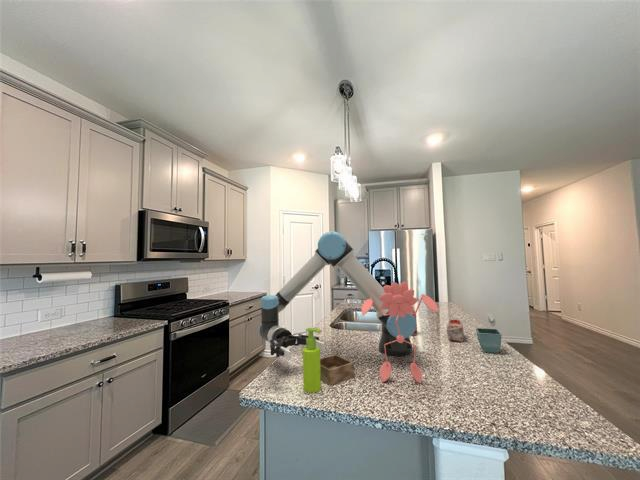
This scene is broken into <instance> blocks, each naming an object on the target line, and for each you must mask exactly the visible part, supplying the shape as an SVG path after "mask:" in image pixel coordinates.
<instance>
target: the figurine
mask: <svg viewBox="0 0 640 480" xmlns="http://www.w3.org/2000/svg"><path fill="white" fill-rule="evenodd" d="M382 287H383V289H384V291H385V294H383V295H381V296H380V300H381V301H383V302H382V305H381V308H382V309H388V312H389V313H388V314H383V312H382V311H381V310H380V309H379V307H378V306H377V305H376V304H375V302H374V301H373V300H372V298H370V299H368V300H366V299H365V301H364V303H363V304H362V307H361V308H360V309H361V315H362V316H365V315H366V314H367V313H369V312H370V311H371V309H372V308H373V306H372V305H373V304H374V305H375V306H376V307H377V308H378V310H379V311H380V312H381V313H382V315H384V316H387V315H390V316H391V317H394V316H395V315H396V313H397V314H398V315H397V318H396V326H397V329H398V332H399V335H398V336H397V338H396V339H397V340H395V341H397V342H399V343H403V342H404V341H405V340H404V337H403V336H402V335H401V334H400V331H399V327H398V324H397V320H398V317H399V316H400V317H403V318H404V317H405V315H406V314H415V313H416V314H417V312H418V310H419V308H420V305H421V304H422V302H423V303H424V304H425V306H426V307H427V308H428V309H430V310H431V311H434V312H435V313H439V309H438V305H437V303H436V302H435V300H434V299H433V298H432V297H430V296H429V295H426V294H424V293H422V294H421V296H420V299H419V301H418V299H417V297H414V295H415V289H413V288H410V289H409V286H408V284H407V282H406V281H403V282H402V283H400V284H399V283H397V282H392V283H391V285H388V284H386V285H384V286H382ZM417 303H418V304H417ZM415 304H417V307H416V309H415V308H414V307H413V306H414V305H415ZM414 310H415V313H412V312H414ZM395 341H392V342H395ZM392 342H389V343H392ZM405 342H407V341H405ZM389 343H386V344H384V348H385V345H387V344H389ZM407 343H409V344H412V346H414V347H413V348H414V349H413V350H414V351H413V362H412V363H410V365H409V367H410V375H411V376H412V377H411V378H413V379H414V380H416V382H418V384H422V377H423V376H422V371H421V369H420V367H419V366H418V364H417V363H416V345H415V344H414V343H412V342H411V343H410V342H407ZM384 355H385V361H384V362H383V363H382V365H381V366H380V370H379V371H380V372H379V375H380V376H379V377H380V379H381V381H382V383H384V382H386V381H387V380H388V379H389V378H390V377H391V375H392V364H391V363H390V361H388V358H387V354H386V348H385V354H384ZM371 374H372V373H370V374H369V376H370V375H371ZM432 392H434V390H432V391H430V392H428V393H425V394H421V395H418V397H421V396H424V397H425V396H427V395H429V394H431V393H432ZM389 394H391V395H395V396H397V394H395V393H390V392H389ZM398 396H400V397H403V395H400V394H398ZM413 397H414V395H413V396H412V395H409V398H413Z"/></svg>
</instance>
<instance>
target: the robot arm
mask: <svg viewBox="0 0 640 480" xmlns="http://www.w3.org/2000/svg"><path fill="white" fill-rule="evenodd" d="M354 252H355V249H354V248H353V247H352V246H351V245H350V244H349V243H348V242H347V240H346V239H345V237H344V236H343V235H342V234H341V233H340V232H337V231H333V230H332V231H331V230H330V231H327V232H325V233H323V234H322V235H321V236H320V237H319V239H318V242H317V248H316V250H315V251H314V255H313V256H312V257H311V258H309V260H308V261H307V262H306V263H305V264H304V265H303V266H302V267H301V268H300V269H299V270H298V271H297V272H296V273H295V274H294V275H293V276H292V277H291V278H290V279H289V280H288V282H286V284H284V286H283V287H282V288H281V289H280V290H279V291H278V292H277V293H276V294H275V295H264V296H263V295H262V297H261V299H260V300H261V301H260V311H261V312H260V313H261V315H260V316H261V323H260V324H259V327H258V330H257V333H258V335H259V337H260V338H261V339H263V341H267V342H268V343H269V349H270V356H274V355H275V357H277V358H280V357H284V358H285V359H286V360H288V361H291V360H292V356H291V355H292V353H291V351H290V350H289V349H287V348H289V347H293V346H295V347H296V346H297V347H298V346H300V345H301V346H306V338H308V335H307V334H302V333H298V335H294V334H292V332H291V331H290V330H288V329H286V328H284V327H282V326H280V325H279V324H280V323H279V321H280V319H279V317H280V315H279V313H281V312H282V311H284V309H286V307H287V306H288V305H289V304H290V302H291V301H292V300H293V299H294V298H295V297H297V296H298V294H300V292H301V291H302V290H304V288H305V287H306V286H308V284H309V283H311V281H313V279H314V278H315V277H316V276H317V275H318V274H319V273H320V272H321V271H322V270H323V269H324V268H325V267H326V266H330V265H331V267H333V268H336V269H339V270H340V271H341V273H342V274H343V275H344V276H345V277H346V278H347V280H349V282H350V283H351V284H352V286H354V287H355V288H356V289H357V291H358V292H359V293H360V294H361V295H362V296H363V298H364V299H365V301H366V300H368V299H370V298H372V300H373V301H374V302H375V304H376V305H377V306H378V307H379V309H380V310H381V311H382V312H383V314H388V313H389V312H388V309H382V308H381V305H382V302H383V301H381V300H380V296H381V295H383V294H385V291H384V289H383V287H384V286H382V285H381V284H380V282H378V281H377V279H376V278H375V277H374V276H373V275H372V274H371V272H370V271H368V269H367V268H366V267H365V265H363V264H362V263H361V261H360V260H359V259H358V258H357V257H356V256H355V254H354ZM372 308H373V309H374V310H375V311H376V315H375V316H376V318H377V319H378V321H380V323H381V334H380V339H379V343H378V350H379V352H380V353H382V354H384V355H385V348H386V356H387V355H388V356H394V357H402V356H403V357H404V356H405V357H406V356H409V355H412V353H414V351H413V350H414V349H413V348H414V347H413V345H412V344H413V343H412V342H411V339H410V337H411V335H412V334H413V333H414V331H415V329H416V321H417V319H416V320H415V317H414V315H413V314H406V315H405V317H404V318H403V317H400V316H399V317H398V320H397V324H398V327H399V331H400V334H401V335H402V336H403V337H404V340H405V341H407V342H410V343H412V344H409V343H407V342H405V341H404V342H403V343H399V342H397V341H395V340H397V339H396V338H397V336H398V335H399V332H398V329H397V326H396V318H397V315H398V314H397V313H396V315H395V316H394V317H391V316H390V315H387V316H384V315H382V313H381V312H380V311H379V310H378V308H377V307H376V306H375V305H374V304H373V305H372ZM313 337H315V338H316V347H319V348H320V352H325V342H322V341H320V337H319V336H316V335H315V336H314V335H313ZM392 341H395V342H392ZM389 342H392V343H389ZM386 343H389V344H387V345H385V348H384V344H386Z"/></svg>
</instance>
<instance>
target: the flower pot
mask: <svg viewBox="0 0 640 480" xmlns="http://www.w3.org/2000/svg"><path fill="white" fill-rule="evenodd" d="M475 332H476V337H477V341H478V344H479V346H480V347H481V350H482V351H483V352H484V353H491V354H498V353H499V351H500V350H501V347H502V338H503V337H502V335H503V334H502V333H501V332H500V331H499V330H498V329H497V328H485V327H484V328H483V327H481V328H480V327H476V328H475Z"/></svg>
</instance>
